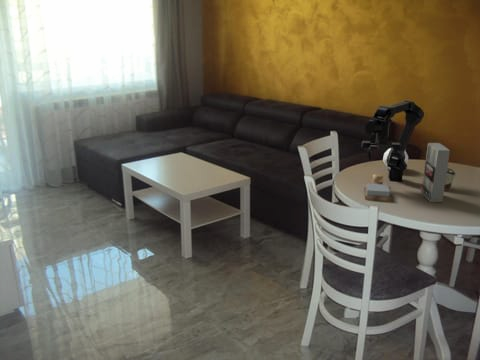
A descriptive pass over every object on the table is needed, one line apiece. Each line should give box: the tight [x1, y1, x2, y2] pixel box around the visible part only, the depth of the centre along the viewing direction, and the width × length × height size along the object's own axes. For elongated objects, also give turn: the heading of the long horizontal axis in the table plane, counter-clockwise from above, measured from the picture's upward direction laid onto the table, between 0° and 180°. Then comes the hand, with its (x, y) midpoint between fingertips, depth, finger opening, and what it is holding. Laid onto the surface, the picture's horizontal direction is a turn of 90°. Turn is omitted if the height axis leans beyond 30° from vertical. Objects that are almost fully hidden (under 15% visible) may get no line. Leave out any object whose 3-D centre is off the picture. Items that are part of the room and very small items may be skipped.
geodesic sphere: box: [382, 148, 409, 170], centre depth 267 cm, size 14×14×14 cm
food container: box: [444, 167, 456, 191], centre depth 240 cm, size 12×6×10 cm, turn 65°
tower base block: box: [363, 187, 393, 202], centre depth 229 cm, size 12×12×2 cm
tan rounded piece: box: [371, 173, 384, 184], centre depth 244 cm, size 5×5×5 cm
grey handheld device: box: [419, 142, 451, 203], centre depth 224 cm, size 14×6×25 cm, turn 178°
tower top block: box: [365, 183, 391, 197], centre depth 228 cm, size 10×10×2 cm
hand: (379, 162), depth 241 cm, fingers open, 9 cm apart
